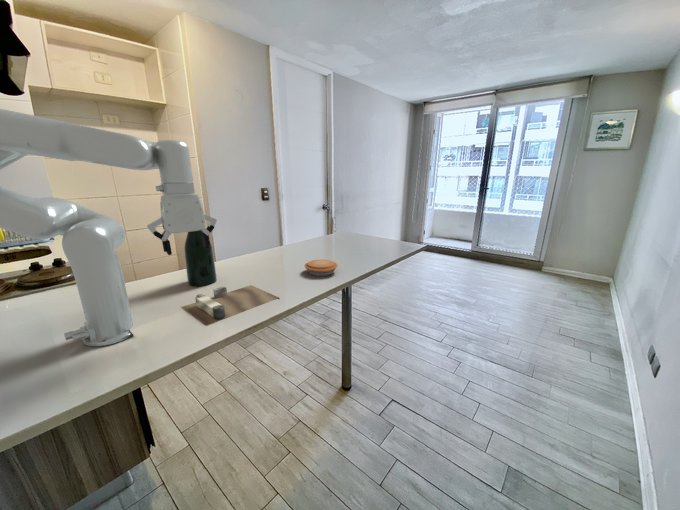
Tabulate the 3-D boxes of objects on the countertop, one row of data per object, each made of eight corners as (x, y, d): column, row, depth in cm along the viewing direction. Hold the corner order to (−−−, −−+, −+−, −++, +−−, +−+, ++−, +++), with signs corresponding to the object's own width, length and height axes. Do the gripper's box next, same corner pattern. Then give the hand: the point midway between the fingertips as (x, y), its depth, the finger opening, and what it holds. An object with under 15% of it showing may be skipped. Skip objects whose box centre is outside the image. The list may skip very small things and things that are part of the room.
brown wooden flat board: (206, 330, 80) (204, 316, 79) (181, 311, 92) (179, 298, 90) (279, 301, 99) (279, 289, 98) (251, 288, 111) (250, 278, 109)
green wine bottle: (205, 279, 120) (195, 201, 111) (222, 283, 116) (214, 202, 107) (182, 287, 111) (170, 203, 102) (201, 292, 107) (189, 205, 98)
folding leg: (194, 305, 92) (193, 295, 91) (204, 302, 94) (203, 292, 93) (216, 320, 83) (215, 309, 82) (227, 316, 85) (226, 306, 84)
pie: (300, 269, 134) (300, 259, 133) (329, 265, 141) (329, 256, 139) (310, 280, 121) (310, 269, 120) (343, 275, 127) (343, 264, 126)
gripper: (142, 191, 67) (155, 259, 72) (216, 189, 78) (223, 248, 83) (138, 190, 73) (150, 253, 77) (208, 188, 84) (215, 244, 88)
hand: (188, 250), depth 80 cm, fingers open, 9 cm apart
